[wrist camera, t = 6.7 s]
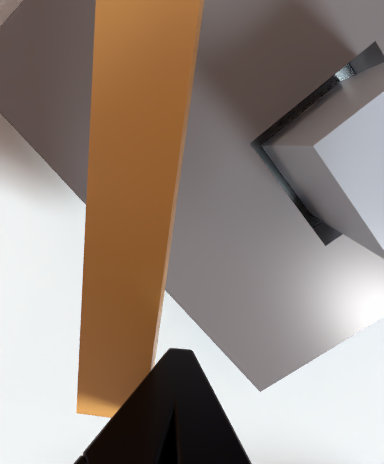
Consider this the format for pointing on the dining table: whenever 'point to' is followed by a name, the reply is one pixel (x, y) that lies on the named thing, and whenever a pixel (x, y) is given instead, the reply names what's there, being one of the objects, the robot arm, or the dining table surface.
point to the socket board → (222, 166)
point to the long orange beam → (132, 188)
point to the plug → (339, 158)
